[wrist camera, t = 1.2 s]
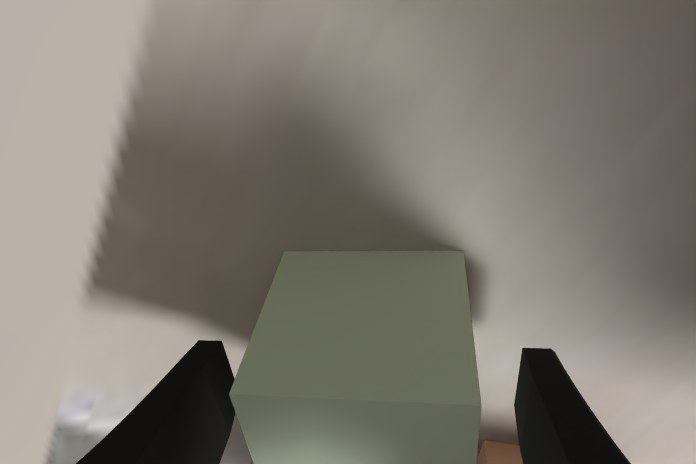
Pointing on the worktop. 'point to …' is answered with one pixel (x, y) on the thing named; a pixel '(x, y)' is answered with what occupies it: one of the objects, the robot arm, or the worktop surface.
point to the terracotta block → (499, 453)
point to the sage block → (362, 362)
